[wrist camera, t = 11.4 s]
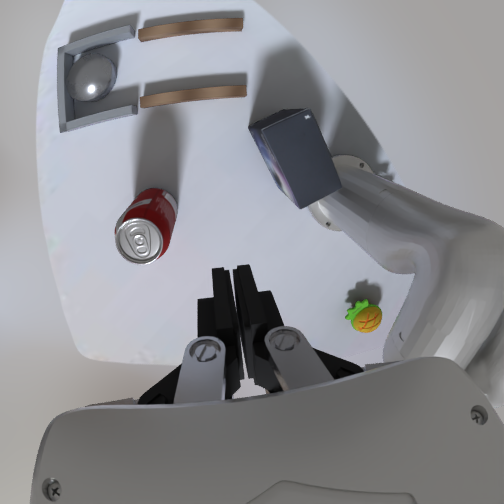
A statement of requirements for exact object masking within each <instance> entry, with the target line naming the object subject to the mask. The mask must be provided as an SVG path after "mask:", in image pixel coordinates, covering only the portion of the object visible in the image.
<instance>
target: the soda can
mask: <svg viewBox="0 0 504 504" xmlns="http://www.w3.org/2000/svg"><path fill="white" fill-rule="evenodd" d="M177 213H178V209H177V204H176V201H175V199H174V198H173V197H172V195H171V194H170V193H168V192H167V191H165V190H163V189H159V188H150V189H147V190H145V191H143V192H141V193H140V194H139V195H138V196H137V197H136V199H135V200H134V201H133V202H132V203H131V205H130V206H129V207H128V208H127V209H126V211H125V212H124V213H123V214H122V215H121V217H120V218H119V219H118V221H117V223H116V227H115V242H116V247H117V249H118V251H119V253H120V254H121V256H122V257H123V258H124V259H126V260H127V261H129V262H131V263H133V264H138V265H144V264H149V263H151V262H153V261H154V260H156V259H158V258H160V257H161V256H162V255H163V254H164V253H165V252H166V250H167V249H168V246H169V244H170V240H171V236H172V232H173V228H174V225H175V221H176V218H177Z"/></svg>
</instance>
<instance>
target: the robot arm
mask: <svg viewBox="0 0 504 504" xmlns="http://www.w3.org/2000/svg"><path fill="white" fill-rule="evenodd" d="M331 158H332V160H333V163H334V165H335V168H336V170H337V173H338V176H339V178H340V181H341V184H342V187H343V188H341V189H339V190H338V191H336V192H334V193H332V194H330V195H328V196H326V197H324V198H322V199H320V200H318V201H316V202H314V203H313V204H311V205H309V206H308V208H309V211H310V212H311V214H312V216H313V217H314V219H315V220H316V221H317V222H318V223H319V224H320V225H322V226H323V227H325V228H327V229H329V230H332V231H343V232H344V233H345V234H346V235H348V236H349V237H350V238H351V239H352V240H353V241H354V242H355V243H356V244H357V245H359V246H360V247H361V248H362V249H363V250H364V251H365V252H366V253H367V254H368V255H369V256H370V257H372V258H373V259H374V260H375V261H376V262H377V263H378V264H379V265H380V266H382V267H383V268H384V269H386V270H388V271H390V272H392V273H396V274H413V273H415V276H414V279H413V282H412V284H411V287H410V289H409V293H408V295H407V297H406V299H405V302H404V304H403V306H402V308H401V310H400V312H399V314H398V316H397V318H396V320H395V322H394V324H393V326H392V328H391V330H390V332H389V335H388V337H387V339H386V342H385V345H384V348H383V362H384V363H376V364H366V365H365V367H362V368H361V367H360V366H358V365H356V364H354V363H351V362H349V361H346V360H343V359H341V358H338V357H335V356H333V355H330V354H327V353H325V352H322V351H320V350H317V349H314V348H312V347H311V345H310V344H309V342H308V341H307V339H306V338H305V336H304V335H303V334H302V333H301V332H300V331H299V330H297V329H296V328H293V327H289V326H284V324H283V321H282V318H281V316H280V313H279V310H278V308H277V305H276V303H275V300H274V297H273V295H272V292H271V291H262V292H258V290H257V287H256V284H255V281H254V278H253V274H252V271H251V268H250V265H249V264H248V265H240V266H237V269H233V279H234V289H235V300H236V307H235V301H234V296H233V290H232V284H231V279H230V273H229V270H224V267H222V268H213V269H212V279H213V294H214V297H212V298H203V299H198V338H196V339H194V340H193V341H191V342H190V343H189V344H188V345H187V347H186V349H185V353H184V357H183V361H182V364H181V365H179V366H178V367H177V368H176V369H174V370H173V371H172V372H171V373H169V374H168V375H167V376H166V377H164V378H163V379H162V380H160V381H159V382H158V383H157V384H155V385H154V386H153V387H151V388H150V389H149V390H148V391H147V392H145V393H144V394H143V395H142V396H141V397H140V399H137V400H134V399H133V398H128V399H122V400H117V401H111V402H105V403H98V404H92V405H88V406H85V407H82V408H77V409H74V410H70V411H67V412H64V413H62V414H60V415H58V416H56V417H55V418H54V419H53V420H52V421H51V422H50V424H49V425H48V427H47V428H46V430H45V433H44V435H43V438H42V440H41V443H40V447H39V450H38V454H37V459H36V463H35V468H34V473H33V480H32V488H31V498H30V504H504V424H503V423H502V421H501V419H500V418H499V416H498V415H497V413H496V411H495V410H494V408H497V407H500V406H503V405H504V228H503V227H502V226H500V225H498V224H497V223H495V222H493V221H491V220H489V219H486V218H484V217H481V216H478V215H475V214H472V213H468V212H465V211H462V210H459V209H455V208H453V207H450V206H447V205H444V204H442V203H440V202H437V201H434V200H432V199H430V198H427V197H426V196H423V195H421V194H419V193H417V192H415V191H412V190H410V189H408V188H406V187H403V186H401V185H399V184H396V183H394V182H392V181H389V180H387V179H385V178H382V177H380V176H377V175H375V174H374V173H373V171H372V169H371V168H370V166H369V165H368V164H367V163H366V162H364V161H363V160H361V159H360V158H357V157H355V156H351V155H337V156H333V157H331ZM236 310H237V312H236ZM240 337H241V340H240ZM241 342H242V347H243V353H244V358H245V363H246V368H247V373H248V378H249V379H250V378H254V383H255V385H259V386H261V387H263V388H265V391H266V394H265V395H258V396H251V397H245V398H237V399H234V397H233V394H234V393H235V392H236V391H237V390H238V389H239V388H240V387H241V386H240V380H242V379H244V370H243V360H242V350H241Z"/></svg>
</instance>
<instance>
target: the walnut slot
mask: <svg viewBox="0 0 504 504" xmlns="http://www.w3.org/2000/svg"><path fill="white" fill-rule="evenodd" d="M242 29H243V18H226V19H208V20H196V21H186V22H178V23H171V24H165V25H159V26H153V27H148V28H143V29H138V39H139V40H140V41H141V42H144V41H149V40H154V39H160V38H166V37H173V36H180V35H189V34H198V33H211V32H231V31H242ZM246 96H247V91H246V85H239V86H221V87H208V88H198V89H189V90H180V91H173V92H166V93H160V94H154V95H148V96H143V97H140V107H141V108H148V107H154V106H160V105H167V104H173V103H181V102H189V101H198V100H208V99H220V98H236V97H246Z"/></svg>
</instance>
